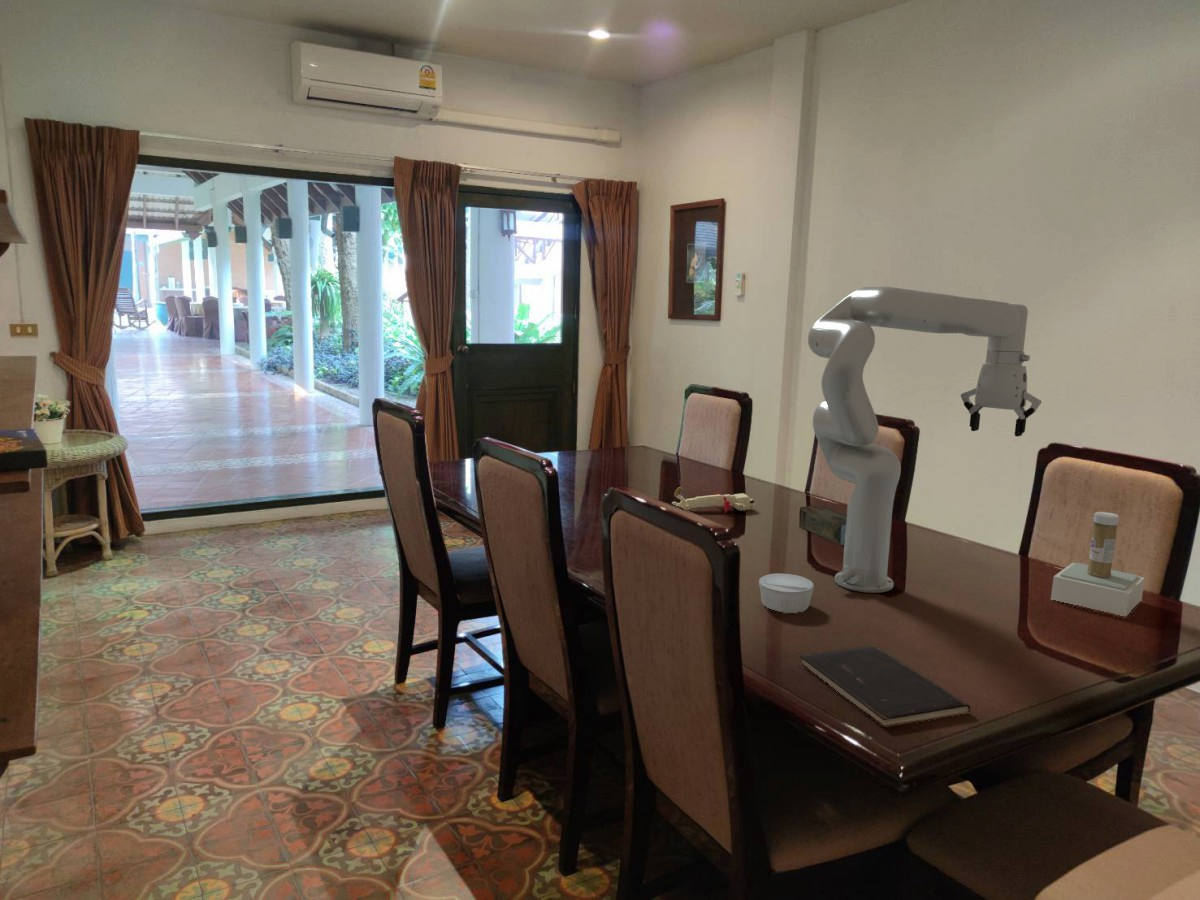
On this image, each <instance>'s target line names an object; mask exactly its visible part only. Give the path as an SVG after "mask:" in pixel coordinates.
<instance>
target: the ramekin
mask: <svg viewBox="0 0 1200 900" xmlns="http://www.w3.org/2000/svg"><path fill="white" fill-rule="evenodd" d="M814 585H815V584H814V583H813V581H811V579H808V578H807V577H804V576H800V575H797V574H791V573H781V572H780V573H777V572H776V573H769V574H766V575H763V576H761V577H760V578H759V579H758V586H759V590H760V599H761V600H760V601H761V603H762V605H763V607H765V606H766V607H767V608H766V607H765V608H766V609H768V608H769V609H772V610H775V611H779V612H783V613H782V614H788V613H794V614H799V613H798V612H801V613H803V612H805V611H806V610H807V609H808V608H809V607H810V605H811V604H810V603H811V598H812V595H813V591H814V589H815V586H814ZM769 609H768V610H769ZM772 610H771V611H772ZM775 611H774V612H775ZM779 612H778V613H779Z"/></svg>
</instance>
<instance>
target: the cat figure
mask: <svg viewBox="0 0 1200 900" xmlns="http://www.w3.org/2000/svg"><path fill="white" fill-rule="evenodd" d="M683 492H684V489H683V487H681V486H678V487H677V488H676V490H674V492H673V494H674V495H673V496H674V497H675V498H677V499H678V500H680V501H679V502H676V501H671V505H672V504H673V505H676V506H679V507H681V508H683V509H686V510H689V509H691V508H697V507H701V508H708V507H717V506H718V507H724V511H725V512H726V513H727V512H728V511H729V510H731V509H732V507H733V508H735V509H736V510H737V511H740V512H742V510H743V512H745V511H747V510H751V509H752V510H753V508H754V507H755V506H756V504H754V503H755V500H754V499H753V498H751V497H750V496H748V495H747V494H745V493H744V492H742V493H734V494H729V493H728V494H720V491H719V490H718V491H716V494H711V495H702V496H695V497H691V498H686V499H685V498H684V496H682V495H681V493H683ZM687 508H688V509H687ZM724 511H723V512H724Z"/></svg>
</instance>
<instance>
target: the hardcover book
mask: <svg viewBox="0 0 1200 900" xmlns="http://www.w3.org/2000/svg"><path fill="white" fill-rule="evenodd" d="M799 658H801V660H802V661H801V664H802V663H803V664H804V665H805V666H807V667H808V668H809V669H810V670H811V671H813V672H814V673H815V674H817V675H818V676H819V677H820V678H822V679H823V680H824V681H825V682H827V683H828V684H829V685H830V686H831V687H833V688H834V689H835V690H836V692H837V691H838V692H839V693H840V694H841V695H840V694H839V693H838V692H837V693H838V694H839V695H840V696H842V695H843V696H844V697H846V698H847V699H849V700H850V701H851V702H853V703H854V704H856V705H857V706H858V707H860V708H861V709H863V710H864V711H866V712H867V713H868V714H870V715H871V716H872V717H874V718H875V719H876V720H878V721H880V722H881V723H882V724H883V725H890V724H895V723H903V722H909V721H916V720H923V719H928V718H934V717H939V716H946V715H952V714H958V713H964V712H971V706H970V704H969V703H967V702H965V701H964V700H963V699H961V698H960V697H957V696H955V694H952V693H951V692H949V691H948V690H946V689H944V688H943V687H941V686H940V685H938V684H936V682H934V681H932V680H931V679H928V677H926V676H924V675H922V674H921V673H919V672H918V671H916V670H915V669H913V668H912V667H910V666H908V665H907V664H906V663H904V662H902V661H900V660H899V659H897V658H895V657H894V656H892V655H891V654H889V653H888V652H886V651H884V650H882V649H881V648H880V647H879V646H877V645H875V644H874V645H867V646H859V647H853V648H844V649H838V650H837V649H836V650H830V651H822V652H816V653H815V652H813V653H807V654H800V655H799ZM820 678H819V679H820ZM824 681H823V682H824ZM825 682H824V683H825ZM829 685H828V686H829ZM830 686H829V687H830ZM831 687H830V688H831ZM833 688H832V689H833ZM834 689H833V690H834ZM835 690H834V691H835ZM843 696H842V697H843ZM844 697H843V698H844ZM846 698H845V699H846ZM847 699H846V700H847ZM850 701H849V702H850ZM851 702H850V703H851Z"/></svg>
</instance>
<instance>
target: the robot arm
mask: <svg viewBox="0 0 1200 900" xmlns="http://www.w3.org/2000/svg"><path fill="white" fill-rule="evenodd" d="M1028 313H1029V311H1028V307H1027V306H1026V305H1024V304H1020V303H1019V304H1018V303H1009V302H1006V301H996V300H990V299H989V300H988V299H983V298H974V297H973V298H972V297H965V296H957V295H953V294H952V295H951V294H946V293H938V292H937V293H936V292H929V291H923V290H921V291H920V290H916V289H915V290H913V289H908V288H899V287H894V286H893V287H892V286H865V287H860V288H857V289H856V290H854V291H853V292H851V293H849V294H848V295H847V296H845V297H844V298H843V299H842V300H840V301H839V302H838V303H837V304H836V305H834V306H833V307H832V308H831V309H829V310H828V311H827V312H826V313H824V315H822V316H820V318H819V319H818V320H816V321H815V322H814V323H813V325H812V326H811V328H810V330H809V333H808V334H807V335H808V336H807V344H808V346H809V349H810V351H812V353H813V354H814V355H816V356H817V357H820V358H824V359H828V361H827V363H826V366H825V368H824V370H823V372H822V373H823V374H822V377H821V391H822V394H823V397H824V400H822V401H821V402H820V403H819V404H818V405H817V406H816V408H815V410H814V413H813V417H812V427H813V432H814V434H815V438H816V440H817V442H818V444H819V446H820V450H821V452H822V454H823V457H824V459H825V461H826V463H827V466H828V467H829V469H830V471H831V472H832V474H833V475H835V476H836V477H837V478H839V479H842V480H843V481H846V482H849V483H852V484H855V487H854V489H853V490H852V493H851V494H850V496H849V499H848V502H847V509H846V515H847V519H846V532H845V545H843V559H842V560H843V561H842V571H838V572H837V573H835V576H834V582H835V583H836V584H837V585H838V586H840V587H842V588H845V589H847V590H850V591H855V592H856V591H857V592H862V593H868V594H869V593H871V594H872V593H873V594H875V593H876V594H877V593H885V592H889V591H891V590H892V589H893V588H894V584H895V583H894V581H893V580H892V578H890V577H889V576H888V566H889V557H890V556H889V554H890V542H891V533H892V532H891V531H892V530H891V529H892V517H893V508H894V501H895V494H896V490H897V487H898V485H899V480H900V477H901V469H902V466H901V462H900V460H899V457H898V456H897V455H896V454H895V453H894V452H893V451H892V450H890V449H888V448H886V447H884V446H880V445H878V444H873V443H874V442H875V440H876V439H877V438H878V435H879V423H878V418H877V416H876V413H875V411H874V408H873V406H872V404H871V400H870V398H869V396H868V393H867V390H866V388H865V387H866V386H865V383H864V380H863V379H864V377H863V376H864V375H863V374H864V369H865V367H866V364H867V362H868V359H869V358H870V355H872V352H873V350H874V347H875V344H876V343H875V342H876V336H875V332H874V330H873V328H872V327H877V328H888V329H894V330H896V329H897V330H904V331H913V332H922V333H929V334H930V333H931V334H963V335H966V336H971V337H979V338H980V337H983V338H984V337H985V338H986V337H987V346H986V348H987V349H986V355H985V363H982V366H981V368H980V372H979V375H978V378H977V383H976V387H975V388H973V389H970V390H968V391H965V392H963V393H961V394H960V398H961V400H962V402H963V406H964V407H965V408H966V409H967V411H968V413H969V414H970V418H969V427H970V431H971V432H977V431H979V429H980V422H981V413H980V411H981V410H982V409H983V408H990V409H997V410H998V409H999V410H1010V411H1013V412H1015V414H1016V415H1017V416H1018V418H1016V420H1015V426H1014V427H1015V429H1014V436H1015V437H1022V436H1023V434H1024V433H1025V431H1026V424H1027V419H1028V418H1029V417H1031V416H1032V415H1033V414H1034V413H1036V411H1037V410H1038V408H1039V407H1040V406H1041V404H1042V400H1040V399H1039V398H1037V397H1036V396H1034V395H1033V394H1031V393H1029V392H1028V375H1027V374H1028V372H1027V366H1026V365H1023V364H1024V362H1029V361H1030V359H1031V357H1030V355H1029V354H1028V355H1027V354H1025V341H1026V332H1027V322H1028ZM972 396H974V403H975V404H973V403H972V402H971V399H970V397H972ZM1027 401H1028V402H1029V403H1031V404H1030V406H1029V408H1028V409H1025V407H1026V404H1027Z"/></svg>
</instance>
